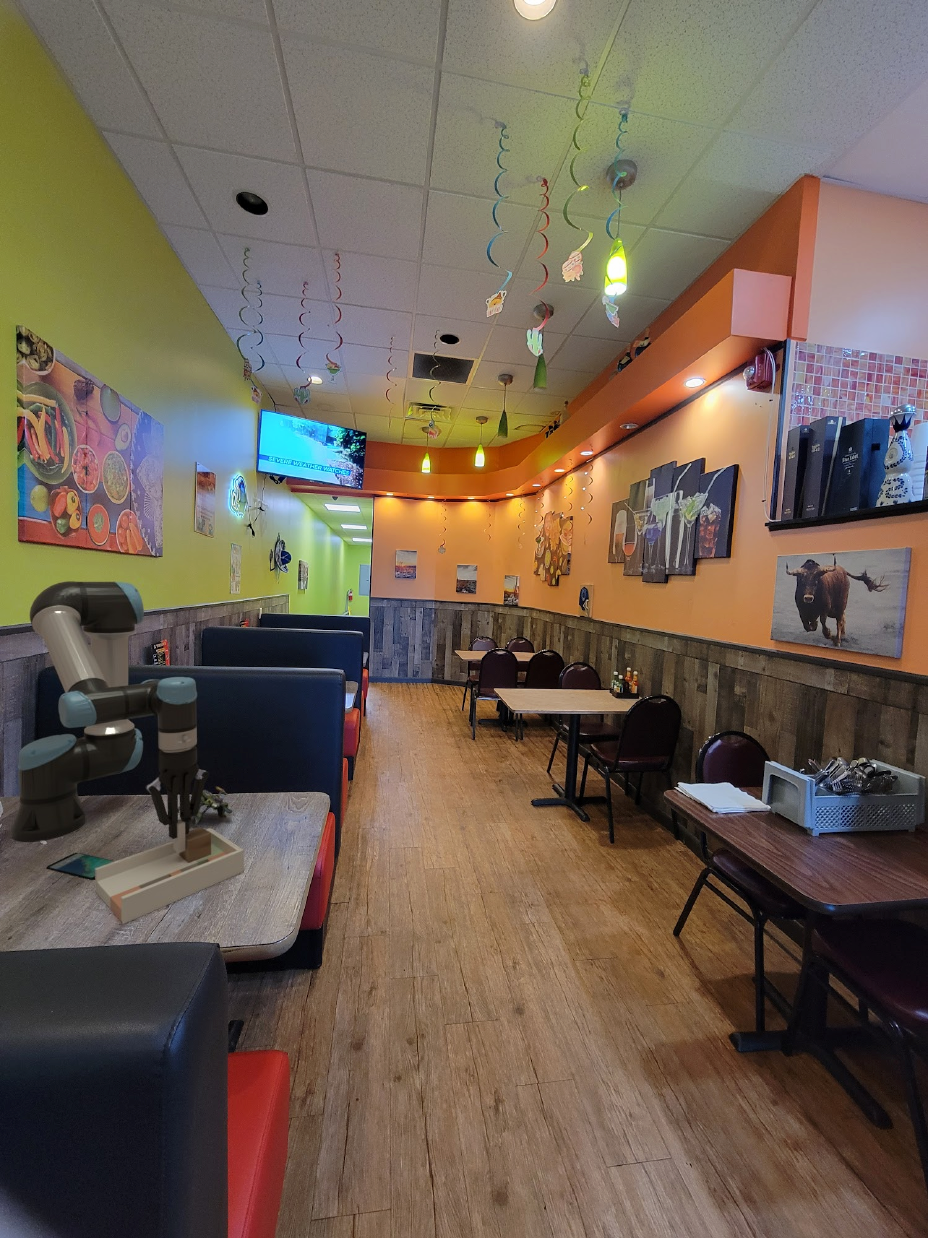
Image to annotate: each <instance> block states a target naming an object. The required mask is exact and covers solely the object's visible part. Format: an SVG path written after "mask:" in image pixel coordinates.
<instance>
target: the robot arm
mask: <svg viewBox="0 0 928 1238" xmlns="http://www.w3.org/2000/svg"><path fill="white" fill-rule="evenodd" d="M144 615H145V611H144V603H143V599H142V596H141V594H140V592H139V590H138V588H137V587H136V586H135V585H134V584H132V583H129V582H121V581H76V580H75V581H74V580H72V581H71V580H67V581H61V582H57V583H55V584H52V585H50V586H49V587H46V588H45V589H43V590H42V591H41V592H40V593H39V594H38V595H37V596H36V597H35V599H33V601H32V604H31V606H30V610H29V620H30V624H31V626H32V629H33V631H34V632H35V633H36V634H38V635H39V636H41V637H42V639H43V642H44V644H45V647H46V649H47V651H48V654H49V656H50V659H51V661H52V663H53V667H54V668H55V671H56V673H57V675H58V679H59V681H60V683H61V685H62V688H63V691H64V693H63V694H61V695H60V697H59V699H58V714H59V720H60V722H61V725H63V727H64V728H68V729H73V728H81V727H83V728H84V727H85V728H84V729H83V730H84V731H83V737H80V738H77V737H76V736H75V735H74V734H71V733H64V734H55V735H50V736H47V737H43V738H39V739H36V740H34V741H33V742H30V743H28V744H26V745H25V746H23V747H22V748H21V749H20V751H19V753H18V763H17V769H18V783H19V785H18V786H19V807H18V809H17V811H16V815H15V817H14V819H13V820H14V821H13V822H12V826H11V837H12V839H13V840H15V841H19V842H38V841H43V840H49V839H53V838H57V837H60V836H64V835H67V834H69V833H71V832H74V831H76V830H78V829H79V828H81V827H82V826H83V825H84V824H85V823H86V821H87V817H86V816H87V815H86V814H87V813H86V812H87V811H86V809H85V807H84V805H83V804H82V801H81V799H80V797H79V795H78V784H79V783H83V782H87V781H91V780H95V779H99V778H104V777H108V776H112V775H120V774H121V773H124V772H127V771H130V770H133V769H135V768H136V767H137V766H138V764H139V763H140V761H141V759H142V755H143V749H144V741H143V736H142V732H141V730H139V729H138V728H135V723H133V722H132V721H130V719H136V718H137V719H138V718H143V717H148V716H156V717H157V731H158V732H157V733H158V734H157V736H158V737H157V739H158V740H157V743H158V744H157V745H158V749H159V751H158V772H157V774H156V779H155V780H153V781H152V782H151V783H147V784H145V787H144V789H145V790H146V791H147V792H148V793H149V794H150V797H151V799H152V802H153V806H154V809H155V813H156V816H157V820H158V821H159V823H161V824H162V825H164V826H168V836H169V838H171V840H173V849H174V850H175V851H176V852H178V853H180V852H183V851H185V835H186V834H188V833H189V831H190V822H191V821H192V818H194V817H193V816H196V815H197V814H198V815H199V813H198V811H199V807H200V802H201V798H202V793H203V790H205V789H204V788H205V785H206V781H208V778H209V776H210V773H209V771H206V770H205V769H200V767H199V765H198V763H197V762H198V746H196V745H197V744H198V743H197V742H198V737H197V736H198V735H197V734H198V733H197V732H198V731H197V727H198V726H197V711H198V710H197V698H198V692H197V685H196V683H197V682H196V680H195V679H194V678H192V677H185V676H174V677H167V678H163V679H147V680H144V681H142V682H141V683H137V684H129V637H130V636H131V635H133V634H134V633H135V631H136V625H139V624H141V623H142V622H143V620H144V617H145V616H144ZM81 627H83V629H82V628H81ZM85 635H87V636H88V637H89V639H90V645H89V643H88V640H87V638H86V637H85ZM194 779H195V780H194ZM193 780H194V782H193ZM192 783H194V784H193V787H192V786H191V785H192ZM161 785H162V786H163V787H164V788H165V789H166V794H167V796H166V797H167V799H166V800H167V801H166V802H167V804H166V805H167V809H166V806H165V802H164V799H163V795H162V793H161V792H160V791H161V788H162V787H161ZM191 790H192V791H191ZM178 804H179V805H178ZM179 806H180V810H179V813H178V807H179ZM179 817H180V818H179Z"/></svg>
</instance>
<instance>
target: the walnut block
mask: <svg viewBox="0 0 928 1238" xmlns="http://www.w3.org/2000/svg"><path fill="white" fill-rule="evenodd" d="M208 855H211V833H210V832H208V831H207V830H206V829H205V828H204V827H202V826H199V827H196V828H193V829H191V830H190V829H189V833H188V834H186V835H185V851H183V852H180V853H179V856H181V857H182V858H183V859H184V860H185V861H187V862H188V863H190V862H193V861H196V860H198V859H201V858H203V857H206V856H208Z"/></svg>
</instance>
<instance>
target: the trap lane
mask: <svg viewBox="0 0 928 1238" xmlns="http://www.w3.org/2000/svg"><path fill="white" fill-rule="evenodd" d="M205 830H207V831H208V832H210V833H211V855H208V856H206V857H203V858H201V859H198V860H196V861H193V862H190V863H188V862H187V861H185V860H184V859H183V858H182V857H181V856H179V853H178V852H176V851H175V850H174V849H173V841H169V842H167V843H164V844H161V845H158V846H155V847H153V848H149V849H146V850H144V851H141V852H139V853H135V854H132V855H130V856H127V857H124V858H121V859H118V860H114V861H115V862H112V863H109V864H106V865H103V866H101V867H98V868H95V880H94V881H95V882H94V884H95V887H94V888H95V889H94V891H95V893H96V892H97V893H96V894H97V895H98V896H99V897H100V899H101V900H102V901H103V902H104V903H105V904H106V906H107V907H108V908H109V910H111V911H112V912H113V914H114V915H115V916H116V917H117V918H118V920H119V921H120V922H121V923H122V924H123V925H125V924H127V923H129V922H132V921H133V920H136V919H138V918H141V917H144V916H145V915H148V914H149V913H152V912H154V911H157V910H158V909H161V908H164V907H166V906H168V905H170V904H173V903H175V902H177V901H179V900H181V899H184V898H186V897H188V896H190V895H193V894H195V893H197V892H200V891H202V890H204V889H207V888H210V887H211V886H213V885H216V884H218V883H220V882H221V883H222V882H223V881H225V880H228V879H230V878H233V877H234V876H237V875H239V874H241V873H243V872H244V871H245V870H244V869H245V863H244V862H245V859H244V858H245V856H244V855H245V854H244V852H245V851H244V849H243V848H241V847H240V846H238V845H236V844H235V843H233V842H232V841H231V840H229V839H228V838H226V837H224V835H222V834H220V833H219V832H217V831H216V830H214V829H212V827H209V828H207V829H205Z"/></svg>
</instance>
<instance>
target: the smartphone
mask: <svg viewBox="0 0 928 1238" xmlns="http://www.w3.org/2000/svg"><path fill="white" fill-rule="evenodd" d="M115 861H116V860H112V859H108V858H104V857H103V858H102V857H99V856H94V855H90V854H87V853H86V854H85V853H82V852H73V853H72V854H69V855H67V856H65V857H63V858H60V859H59V860H57V861H55V862H52V863H50V864H49V865H46V867H45V869H46V870H48V871H49V870H50V871H52V872H56V873H62V874H65V875H69V876H72V877H76V876H78V877H77V878H80V879H84V878H85V880H88V879H89V880H88V881H95V868H98V867H101V866H103V865H106V864H109V863H112V862H115Z"/></svg>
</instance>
